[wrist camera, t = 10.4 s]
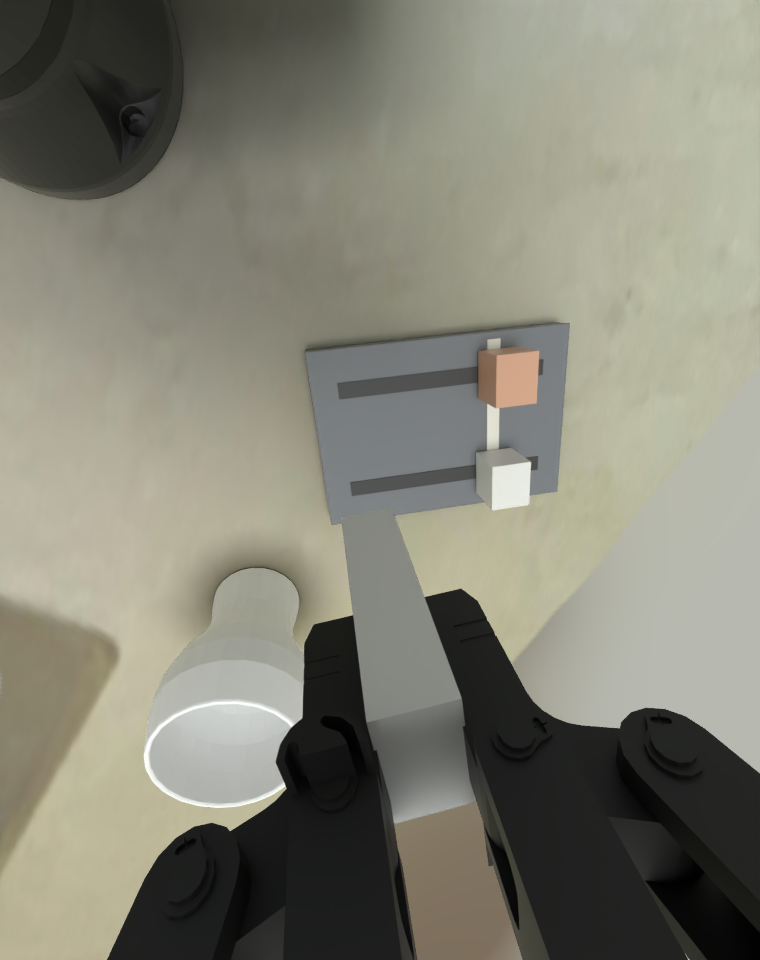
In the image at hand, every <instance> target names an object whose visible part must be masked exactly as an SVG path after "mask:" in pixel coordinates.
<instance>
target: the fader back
mask: <svg viewBox="0 0 760 960" xmlns="http://www.w3.org/2000/svg"><path fill="white" fill-rule="evenodd" d="M530 473H531V461H529V460H528V459H526V458H525V457H524V456H522V455H521V454H519V453H518V452H517V451H515V450H514V449H512V448H505V449H498V450H491V451H483V452H476V493H477V494H478V495H479V496H480V497H481V498H482V500H483V501H484V502H485V503H486V504H487V505H488V506H489V508H490V509H491V510H498V509H505V508H512V507H518V506H525V505H529V494H530Z"/></svg>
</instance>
